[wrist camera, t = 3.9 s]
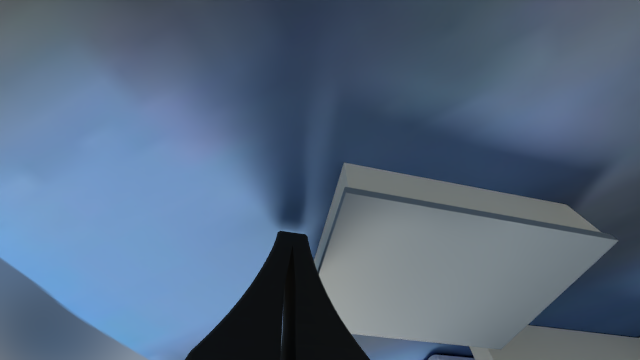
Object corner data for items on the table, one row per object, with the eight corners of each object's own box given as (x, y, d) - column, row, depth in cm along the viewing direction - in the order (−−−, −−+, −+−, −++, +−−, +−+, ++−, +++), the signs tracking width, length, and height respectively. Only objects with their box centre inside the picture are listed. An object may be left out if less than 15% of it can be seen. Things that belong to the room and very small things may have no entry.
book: (475, 303, 19) (500, 349, 16) (302, 281, 17) (300, 328, 15) (564, 198, 14) (618, 240, 12) (339, 155, 13) (345, 192, 10)
